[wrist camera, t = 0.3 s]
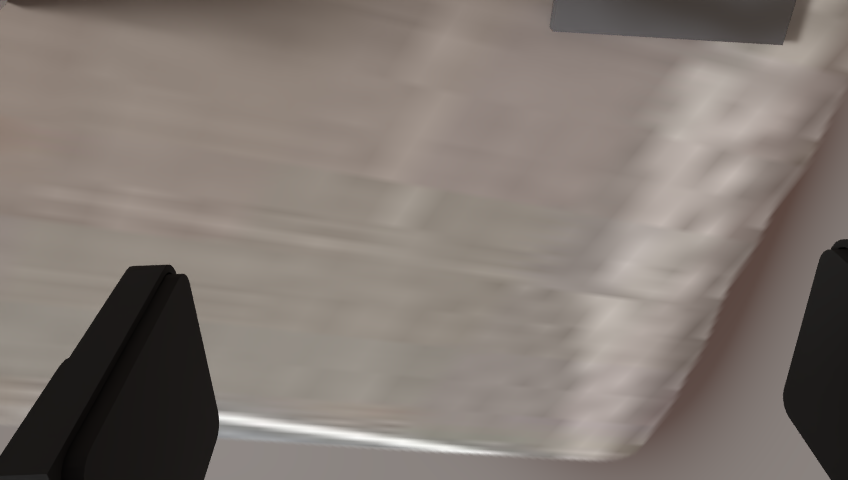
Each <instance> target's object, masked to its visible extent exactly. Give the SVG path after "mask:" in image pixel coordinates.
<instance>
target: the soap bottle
mask: <svg viewBox="0 0 848 480" xmlns="http://www.w3.org/2000/svg"><path fill="white" fill-rule="evenodd" d="M6 2H7V0H0V9H1V8H2V7H4V6H5V5H6Z"/></svg>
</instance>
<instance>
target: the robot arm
mask: <svg viewBox="0 0 848 480" xmlns="http://www.w3.org/2000/svg"><path fill="white" fill-rule="evenodd" d="M783 401H784V407H785V409H786V413H787V414H788V416H789V418H790V419H791V421H792V422H793V424H794V425H795V427H796V428H797V430H798V431H799V433H800V434H801V436H802V437H803V439H804V440H805V442H806V443H807V445H808V446H809V448H810V449H811V451H812V452H813V454H814V455H815V457H816V458H817V460H818V461H819V463H820V464H821V466H822V467H823V469H824V470H825V472H826V473H827V474H828V476H829V477H830V479H831V480H848V239H843V240H839V241H838V242H836V243H835V244H834V245H833V246H832V248H831V250H826V251H825V252H823V254H822V255H821V257H820V259H819V263H818V267H817V270H816V274H815V277H814V281H813V285H812V288H811V292H810V296H809V299H808V303H807V307H806V310H805V314H804V318H803V321H802V325H801V329H800V332H799V336H798V340H797V343H796V347H795V351H794V354H793V358H792V362H791V365H790V369H789V373H788V376H787V380H786V384H785V387H784V392H783ZM218 430H219V415H218V409H217V405H216V400H215V396H214V391H213V386H212V382H211V377H210V373H209V368H208V364H207V359H206V355H205V350H204V346H203V341H202V337H201V332H200V328H199V323H198V319H197V314H196V310H195V305H194V301H193V296H192V291H191V287H190V283H189V280H188V277H187V276H186V275H185V274H176V271H175V270H174V268H173V267H172V266H171V265H149V266H131V267H129V268H128V269H127V270H126V272H125V273H124V275H123V276H122V278H121V279H120V281H119V282H118V284H117V285H116V287H115V288H114V290H113V292H112V293H111V295H110V296H109V298H108V299H107V301H106V302H105V304H104V305H103V307H102V308H101V310H100V311H99V313H98V314H97V316H96V318H95V319H94V321H93V322H92V324H91V325H90V327H89V328H88V330H87V331H86V333H85V334H84V336H83V337H82V339H81V340H80V342H79V343H78V345H77V347H76V348H75V350H74V351H73V353H72V354H71V356H70V357H69V358H68V359H66V360H65V361H64V362H63V363H62V364H61V365H60V366H59V368H58V369H57V371H56V372H55V374H54V375H53V377H52V378H51V380H50V381H49V383H48V384H47V386H46V387H45V389H44V390H43V392H42V393H41V395H40V396H39V398H38V399H37V401H36V402H35V404H34V405H33V407H32V408H31V410H30V412H29V413H28V415H27V416H26V418H25V419H24V421H23V422H22V424H21V425H20V427H19V428H18V430H17V431H16V433H15V434H14V436H13V437H12V439H11V440H10V442H9V443H8V445H7V446H6V448H5V449H4V451H3V452H2V454H1V455H0V480H204V478H205V474H206V472H207V468H208V465H209V462H210V459H211V456H212V453H213V449H214V446H215V443H216V440H217V436H218Z"/></svg>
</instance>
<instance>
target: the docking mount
mask: <svg viewBox="0 0 848 480" xmlns="http://www.w3.org/2000/svg"><path fill="white" fill-rule="evenodd" d="M795 2H796V0H554V1H553V8H552V15H551V22H550V28H551V29H552V31H556V32H572V33H589V34H606V35H623V36H640V37H656V38H673V39H690V40H707V41H724V42H740V43H757V44H774V45H783V42H784V39H785V36H786V32H787V29H788V26H789V22H790V19H791V16H792V12H793V9H794V6H795Z"/></svg>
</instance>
